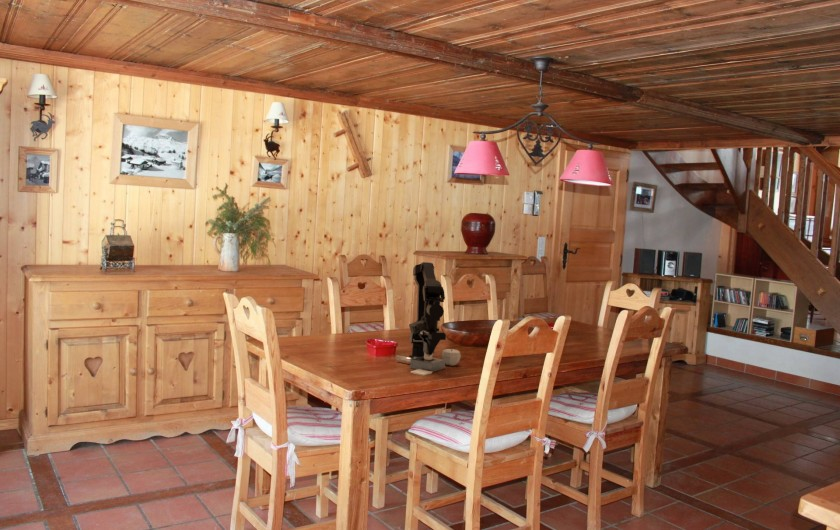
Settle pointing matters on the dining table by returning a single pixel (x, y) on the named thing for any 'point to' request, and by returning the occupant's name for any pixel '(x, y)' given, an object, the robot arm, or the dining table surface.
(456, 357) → the apple
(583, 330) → the dining table surface
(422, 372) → the pad
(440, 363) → the block
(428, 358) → the dark square post
